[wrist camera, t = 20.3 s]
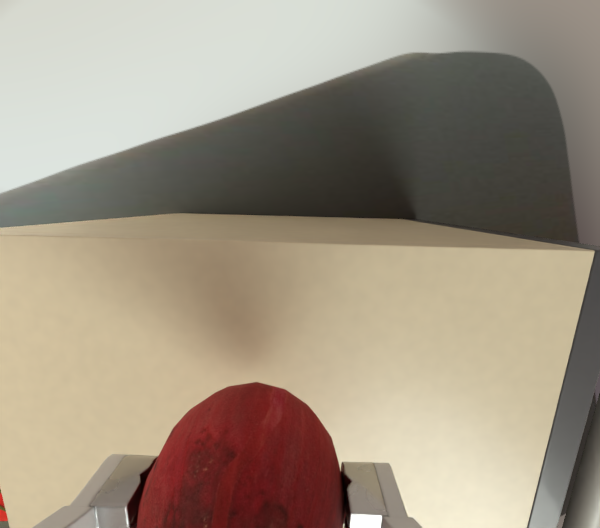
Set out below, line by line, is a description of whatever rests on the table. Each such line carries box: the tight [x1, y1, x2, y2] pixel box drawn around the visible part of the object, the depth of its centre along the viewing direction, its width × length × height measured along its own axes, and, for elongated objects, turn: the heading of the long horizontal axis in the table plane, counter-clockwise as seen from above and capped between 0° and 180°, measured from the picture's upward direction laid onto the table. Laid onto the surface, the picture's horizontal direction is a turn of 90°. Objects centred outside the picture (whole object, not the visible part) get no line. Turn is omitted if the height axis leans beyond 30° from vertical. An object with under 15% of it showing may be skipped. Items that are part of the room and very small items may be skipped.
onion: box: [137, 382, 345, 528], centre depth 8 cm, size 6×6×8 cm
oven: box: [0, 213, 595, 528], centre depth 27 cm, size 28×32×24 cm
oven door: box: [405, 219, 600, 528], centre depth 27 cm, size 7×32×24 cm, turn 178°
